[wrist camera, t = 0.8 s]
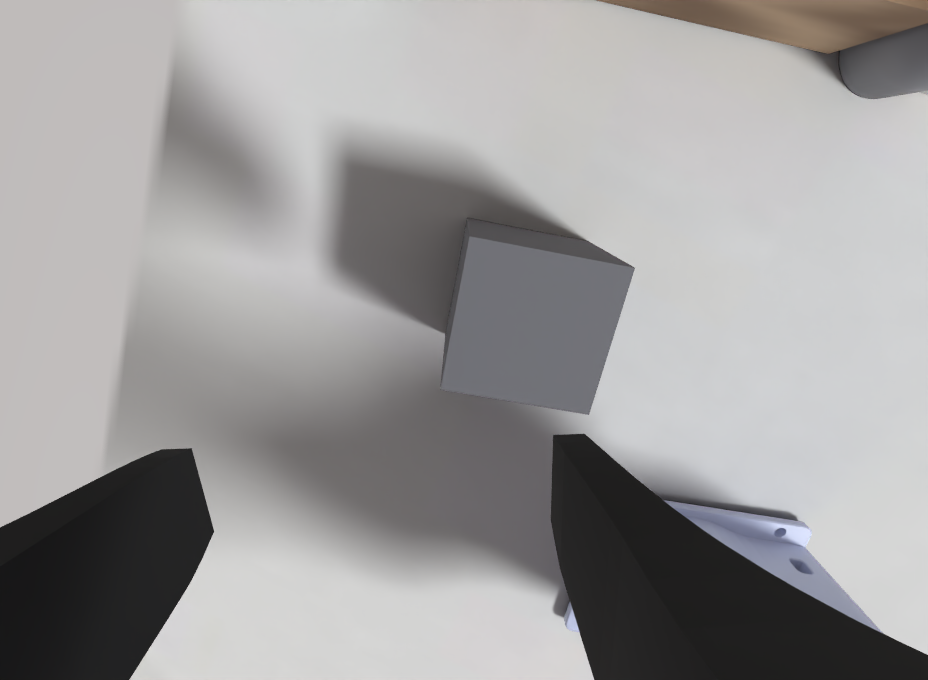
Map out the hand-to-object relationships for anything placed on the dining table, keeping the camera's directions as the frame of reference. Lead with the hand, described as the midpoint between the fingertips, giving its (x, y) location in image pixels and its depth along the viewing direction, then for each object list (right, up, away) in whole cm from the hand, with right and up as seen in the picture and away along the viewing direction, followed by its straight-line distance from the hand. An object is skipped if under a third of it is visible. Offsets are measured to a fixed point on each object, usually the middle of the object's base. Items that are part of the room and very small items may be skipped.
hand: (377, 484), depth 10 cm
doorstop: (+4, +5, +8) cm, 10 cm away
